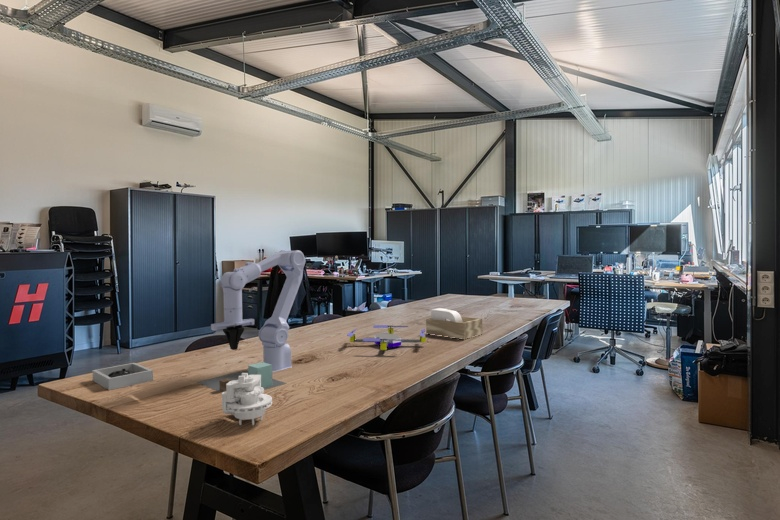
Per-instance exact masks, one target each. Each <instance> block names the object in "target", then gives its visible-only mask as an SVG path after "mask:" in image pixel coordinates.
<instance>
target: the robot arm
mask: <svg viewBox="0 0 780 520" xmlns="http://www.w3.org/2000/svg"><path fill="white" fill-rule="evenodd" d="M306 263H307V262H306V258H305V255H304V252H302V251H301V250H298V249H296V250H286V249H283V250H279V251H277V252H274V253H273V254H271V255H270V256H268V257H266V258H264V259H262V260H260V261H258V262H257V263H255V262H253V261H246V262H245V263H244V265H242V266H241V267H239V268H238V267H236V268H233V271H227V272H224V273H223V274H222V275H221V278H220V280H219V286H220V287H221V288H222V293H223V321H221V322H216V323H211V324H210V330H211V331H212V332H213V331H219V330H222V331H223V333H224V334H225V336H226V339H227V341H228V345H229V349H230V350H232V351H236V350H238V347H239V343H240V341H241V340H240V339H241V337H242V335H243V333H244V331H245V327H244V326H254V325H255V318H244V319H243V289H244V287H245V286H246V284H248V283H250V282H252V281H254V280H256V279H258V278H260V277H261V274H262V272H265V271H267V270H269V269H272V268H274V267H276V266H278V267H279V268H280V269H281V271H282V272H283V273H284V274H285V277H286V279H285V281H284V283H283V287H282V289H281V292H280V294H279V296H278V298H277V302H276V304H275V306H274V310H273V313H272V315H271V317H268V319H266V320H265V322H264V324H263V325H262V327H261V328H260V329H259V331H258V339H259V341H260V342H261V344H262V350H263V351H262V356H263V357H262V358H263V362H264V363H268V364H271V365H272V373H274V372H278V371H279V372H280V371H282V370H283V371H284V370H286V369H290V368H293V366H292V350H291V346H290V344H289V343H286V342H287V341H288V338H289V330H290V325H289V324H288V322H287V320H288V319H289V318H288V317H289V315H290V313H291V309H292V307H293V304H294V301H295V299H296V297H297V294H298V291H299V288H300V286H301V284H302V280H303V276H304V267H305V264H306Z"/></svg>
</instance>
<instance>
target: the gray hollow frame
mask: <svg viewBox="0 0 780 520" xmlns="http://www.w3.org/2000/svg"><path fill="white" fill-rule="evenodd" d="M122 369H126V371H130V374H128V375H123V376H118V377H113V378H111V377H109V376H108V375H109V374H110V373H112V372H115V371H121V370H122ZM153 381H154V369H151V368H149V367H147V366H144V365H141V364H139V363H136V362H132V363H131V362H130V363H125V364H119V365H114V366H109V367H103V368H98V369H94V370H93V369H92V382H94V383H96V384H98V385H99V386H101V387H102V388H104V389H106V390H108V391H112V390H117V389H121V388H125V387H131V386H134V385H139V384H145V383H149V382H153Z"/></svg>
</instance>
